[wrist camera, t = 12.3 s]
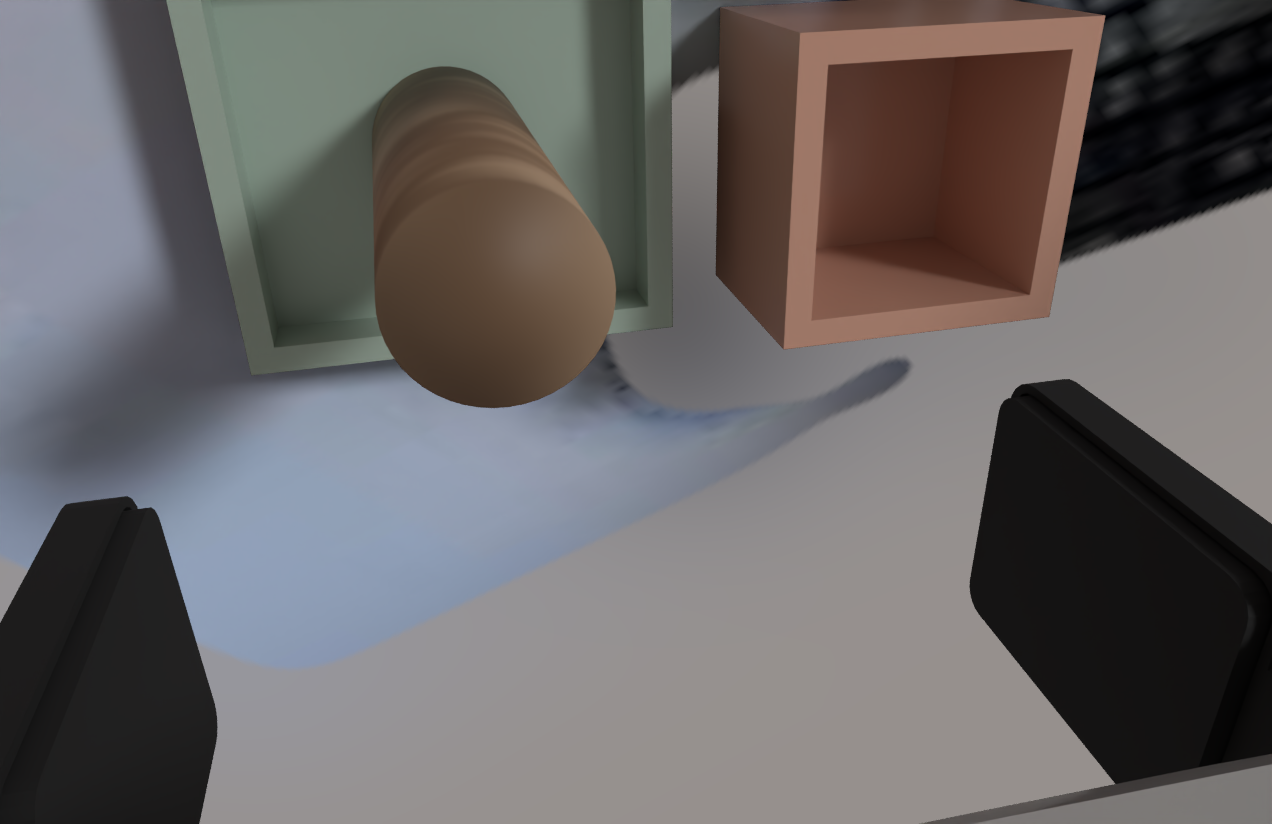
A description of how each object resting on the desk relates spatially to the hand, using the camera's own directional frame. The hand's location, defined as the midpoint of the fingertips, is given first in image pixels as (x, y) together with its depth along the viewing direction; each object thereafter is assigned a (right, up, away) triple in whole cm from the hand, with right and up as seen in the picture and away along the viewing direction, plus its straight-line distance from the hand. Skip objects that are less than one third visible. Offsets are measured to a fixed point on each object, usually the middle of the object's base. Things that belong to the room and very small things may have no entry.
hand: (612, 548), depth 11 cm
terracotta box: (+7, +11, +22) cm, 25 cm away
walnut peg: (-5, +9, +18) cm, 21 cm away
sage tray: (-6, +10, +19) cm, 22 cm away
